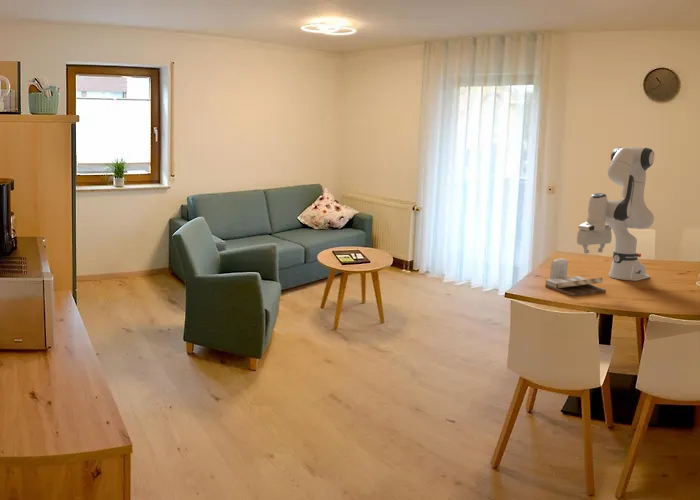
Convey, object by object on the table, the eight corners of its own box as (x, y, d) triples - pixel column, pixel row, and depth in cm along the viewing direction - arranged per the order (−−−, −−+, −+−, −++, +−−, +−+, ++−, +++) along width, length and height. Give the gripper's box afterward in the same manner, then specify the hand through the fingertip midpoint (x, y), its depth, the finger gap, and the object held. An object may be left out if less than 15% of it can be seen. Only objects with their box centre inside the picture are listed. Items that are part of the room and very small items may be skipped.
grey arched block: (561, 278, 378) (563, 256, 376) (567, 280, 375) (569, 258, 372) (548, 281, 373) (550, 258, 370) (554, 282, 369) (556, 260, 367)
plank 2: (590, 284, 362) (589, 279, 362) (602, 282, 354) (601, 277, 354) (574, 286, 357) (573, 281, 358) (587, 284, 349) (586, 279, 350)
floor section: (577, 282, 370) (577, 276, 370) (605, 291, 353) (606, 284, 352) (545, 286, 361) (545, 279, 360) (572, 296, 343) (573, 289, 343)
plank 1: (573, 286, 357) (573, 281, 357) (586, 284, 349) (585, 279, 349) (558, 288, 353) (557, 283, 353) (570, 286, 345) (569, 281, 345)
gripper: (606, 224, 355) (603, 250, 358) (576, 225, 347) (573, 252, 350) (615, 225, 350) (613, 252, 353) (585, 227, 341) (582, 255, 344)
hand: (593, 252), depth 351 cm, fingers open, 8 cm apart
